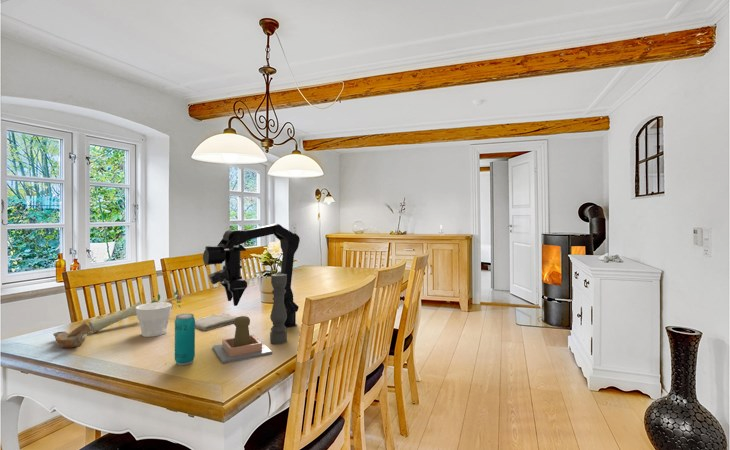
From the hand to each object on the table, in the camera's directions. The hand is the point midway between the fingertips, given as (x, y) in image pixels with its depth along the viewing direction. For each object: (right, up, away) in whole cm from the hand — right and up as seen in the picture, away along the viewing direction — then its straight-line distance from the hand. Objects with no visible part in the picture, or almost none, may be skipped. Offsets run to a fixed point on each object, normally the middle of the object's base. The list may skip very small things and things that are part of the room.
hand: (232, 303), depth 142 cm
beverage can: (-6, -14, -25) cm, 29 cm away
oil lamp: (-54, -13, -11) cm, 56 cm away
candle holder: (+19, -14, -4) cm, 23 cm away
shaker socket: (+8, -13, -14) cm, 21 cm away
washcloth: (-14, -13, +18) cm, 26 cm away
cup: (-32, -13, +3) cm, 35 cm away
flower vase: (-46, -12, +16) cm, 51 cm away
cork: (+8, -13, -14) cm, 21 cm away
